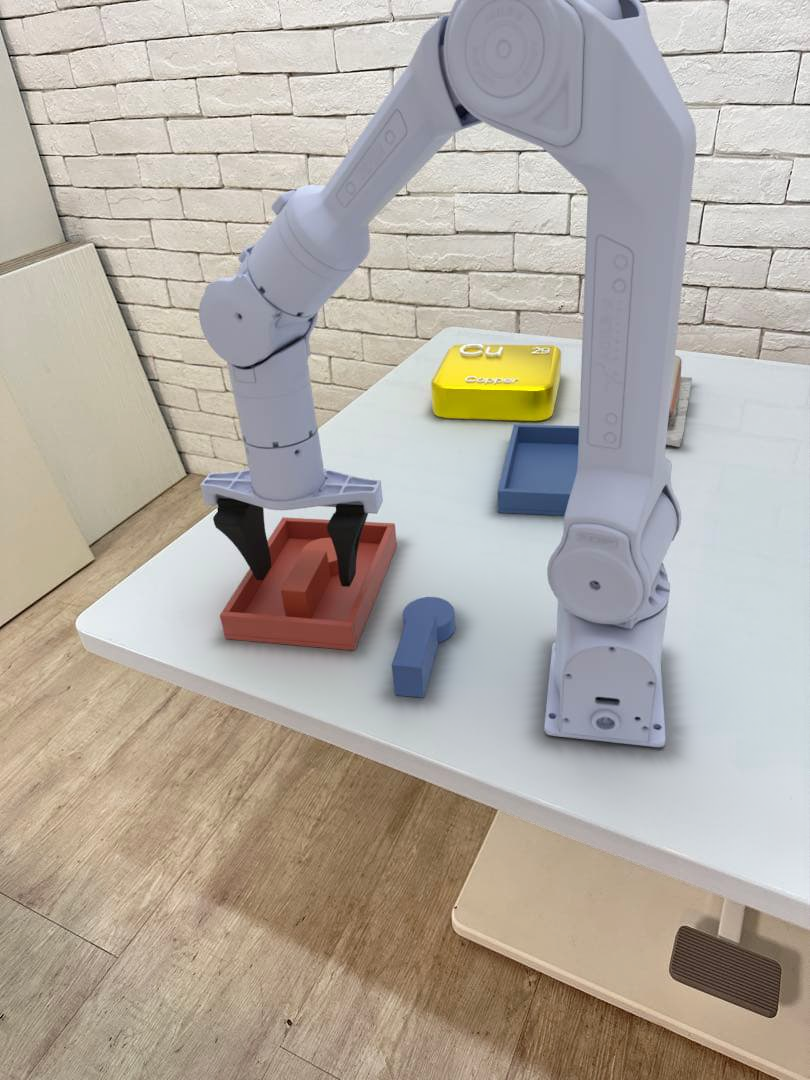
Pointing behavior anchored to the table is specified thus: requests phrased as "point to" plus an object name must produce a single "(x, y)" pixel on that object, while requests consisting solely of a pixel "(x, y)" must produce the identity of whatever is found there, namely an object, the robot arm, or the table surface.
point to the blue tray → (539, 470)
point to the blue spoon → (420, 643)
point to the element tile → (497, 382)
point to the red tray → (340, 607)
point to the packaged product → (678, 405)
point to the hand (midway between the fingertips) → (305, 576)
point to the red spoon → (309, 578)
